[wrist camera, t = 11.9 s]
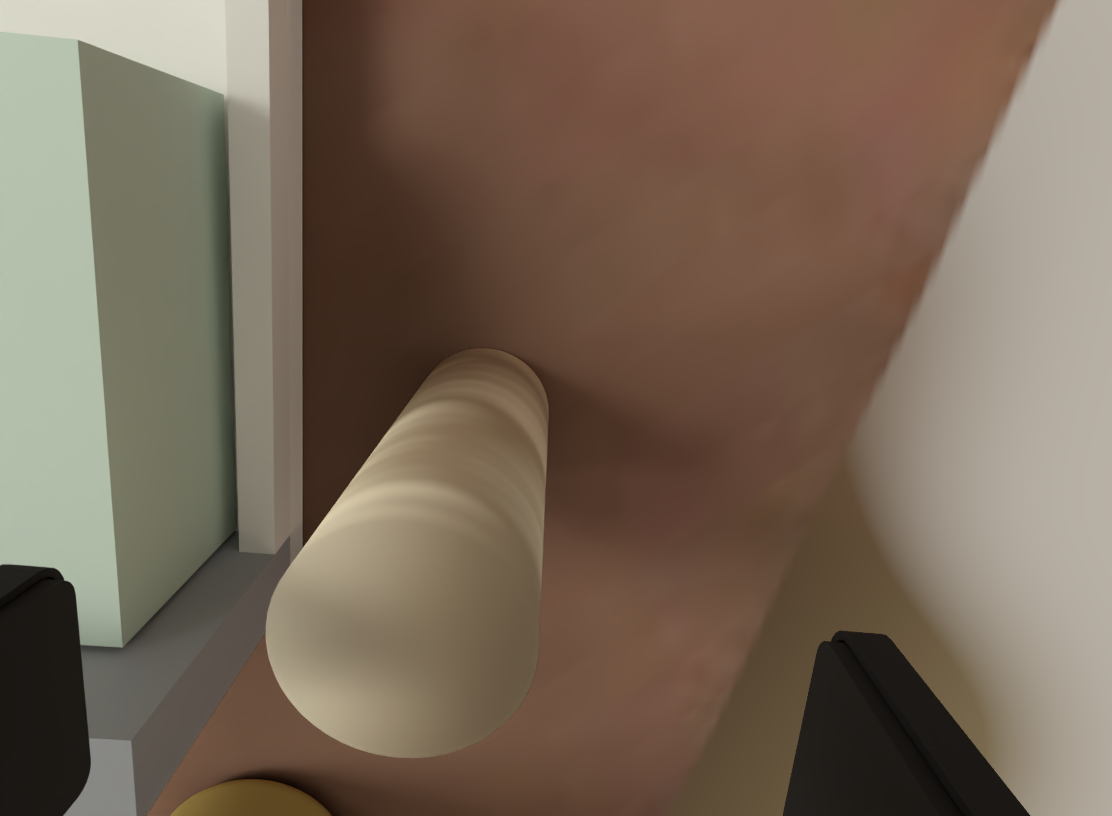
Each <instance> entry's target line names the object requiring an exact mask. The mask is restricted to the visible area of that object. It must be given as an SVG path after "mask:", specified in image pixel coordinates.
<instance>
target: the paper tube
mask: <svg viewBox="0 0 1112 816" xmlns="http://www.w3.org/2000/svg"><path fill="white" fill-rule="evenodd" d="M170 816H332V815H331V814H330V813H329V812H328V811H327V809H326V808H325V807H324V806H322V805H321V804H320V803H319V802H318V801H317V800H315V799H314V798H312V797H311V796H309V795H308V794H306V793H304V792H302V791H300V790H298V789H296V788H294V787H291V786H288V785H285V784H282V783H278V782H275V781H269V780H261V779H241V780H233V781H227V782H224V783H220V784H217V785H214V786H212V787H209V788H207V789H205V790H202V791H200V792H198V793H196V794H194V795H193V796H191V797H190V798H188V799H187V800H185V801H184V802H183V803H182V804H181V805H179V806H178V807H177V809H176V810H175V811H174V812H173V813H172V814H171V815H170Z"/></svg>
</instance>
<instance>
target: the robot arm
mask: <svg viewBox="0 0 1112 816" xmlns="http://www.w3.org/2000/svg"><path fill="white" fill-rule="evenodd" d="M90 768H91V755H90V744H89V733H88V722H87V711H86V701H85V690H84V679H83V668H82V657H81V646H80V635H79V624H78V613H77V602H76V593H75V588H74V586H73V585H72V583H70V582H68V581H64V577H63V576H62V574H61V573H60V571H59V570H57V569H55V568H50V567H38V566H26V565H13V564H2V565H0V816H63V815H64V814H65V813H66V812H67V810H68V809H69V808H70V807H71V806H72V804H73V803H74V802H75V801H76V799H77V798H78V797H79V795H80V794H81V792H82V791H83V789H84V787H85V785H86V783H87V780H88V777H89V773H90ZM783 816H1030V815H1029V813H1028V812H1027V811H1026V810H1025V808H1024V807H1023V806H1022V805H1021V803H1020V802H1019V801H1018V800H1017V798H1016V797H1015V796H1014V795H1013V793H1012V792H1011V791H1010V789H1009V788H1008V787H1007V786H1006V785H1005V783H1004V782H1003V781H1002V780H1001V778H1000V777H999V776H998V774H997V773H996V772H995V771H994V769H993V768H992V767H991V765H990V764H989V763H988V762H987V760H986V759H985V758H984V757H983V756H982V754H981V753H980V752H979V750H978V749H977V748H976V747H975V745H974V744H973V743H972V741H971V740H970V739H969V738H968V736H967V735H966V734H965V733H964V731H963V730H962V729H961V728H960V726H959V725H958V724H957V723H956V721H955V720H954V719H953V717H952V716H951V715H950V714H949V712H948V711H947V710H946V709H945V707H944V706H943V705H942V703H941V702H940V701H939V700H938V699H937V697H936V696H935V695H934V693H933V692H932V691H931V690H930V688H929V687H928V686H927V684H926V683H925V682H924V681H923V679H922V678H921V677H920V676H919V674H918V673H917V672H916V671H915V670H914V668H913V667H912V666H911V664H910V663H909V662H908V660H907V659H906V658H905V657H904V655H903V654H902V653H901V652H900V650H899V649H898V648H897V647H896V645H895V644H894V643H893V641H892V640H891V639H890V638H888V636H886V635H883V634H874V633H862V632H850V631H849V632H848V631H838V632H837V633H835V635H834V636H833V638H832V641H831V642H828V641H824V642H822V643H821V644H820V645H819V647H818V650H817V654H816V659H815V664H814V668H813V673H812V678H811V683H810V688H809V692H808V697H807V702H806V707H805V711H804V717H803V721H802V726H801V731H800V735H799V740H798V745H797V750H796V754H795V759H794V764H793V769H792V773H791V778H790V784H789V788H788V793H787V797H786V802H785V807H784V813H783Z"/></svg>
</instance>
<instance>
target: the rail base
mask: <svg viewBox="0 0 1112 816" xmlns="http://www.w3.org/2000/svg"><path fill="white" fill-rule="evenodd" d="M0 32H8V33H18V34H28V35H38V36H48V37H57V38H67V39H77V40H80V41H83V42H85V43H88V44H91V45H93V46H96V47H99V48H101V49H104V50H107V51H109V52H112V53H115V54H117V55H120V56H123V57H125V58H128V59H131V60H133V61H136V62H138V63H141V64H144V65H146V66H149V67H152V68H154V69H157V70H160V71H162V72H165V73H168V74H170V75H173V76H176V77H178V78H181V79H184V80H186V81H189V82H192V83H194V84H197V85H200V86H202V87H205V88H207V89H210V90H213V91H215V92H218V93H221V94H223V95H224V125H225V163H226V200H227V237H228V274H229V312H230V349H231V386H232V424H233V461H234V498H235V531H234V532H233V533H232V534H231V535H230V536H229V537H228V538H227V539H226V540H225V541H224V542H223V543H222V544H221V545H220V546H219V547H218V548H217V550H216V551H215V552H214V553H213V554H212V555H211V556H210V557H209V558H208V559H207V560H206V561H205V562H204V563H203V564H202V565H201V566H200V567H199V568H198V569H197V570H196V571H195V573H194V574H193V575H192V576H191V577H190V578H189V579H188V580H187V581H186V582H185V583H184V584H183V585H182V586H181V587H180V588H179V589H178V590H177V591H176V592H175V593H174V594H173V595H172V597H171V598H170V599H169V600H168V601H167V602H166V603H165V604H164V605H163V606H162V607H161V608H160V609H159V610H158V611H157V612H156V613H155V614H154V615H153V616H152V617H151V618H150V620H149V621H148V622H147V623H146V624H145V625H144V626H143V627H142V628H141V629H140V630H139V631H138V632H137V633H136V634H135V635H134V636H133V637H132V638H131V639H130V640H129V641H128V643H127V644H126V645H125V646H124V647H123V648H121V647H105V646H90V645H80V646H81V657H82V668H83V679H84V690H85V701H86V711H87V722H88V733H89V744H90V755H91V768H90V773H89V777H88V780H87V783H86V785H85V787H84V789H83V791H82V792H81V794H80V795H79V797H78V798H77V799H76V801H75V802H74V803H73V804H72V806H71V807H70V808H69V809H68V810H67V812H66V813H65V814H64V815H63V816H146V815H147V814H148V812H149V811H150V809H151V808H152V806H153V804H154V803H155V801H156V800H157V798H158V797H159V795H160V794H161V792H162V791H163V789H164V788H165V786H166V784H167V783H168V781H169V780H170V778H171V777H172V775H173V774H174V772H175V771H176V769H177V768H178V766H179V764H180V763H181V761H182V760H183V758H184V757H185V755H186V754H187V752H188V751H189V749H190V748H191V746H192V745H193V743H194V741H195V740H196V738H197V737H198V735H199V734H200V732H201V731H202V729H203V728H204V726H205V725H206V723H207V721H208V720H209V718H210V717H211V715H212V714H213V712H214V711H215V709H216V708H217V706H218V705H219V703H220V701H221V700H222V698H223V697H224V695H225V694H226V692H227V691H228V689H229V688H230V686H231V685H232V683H233V682H234V680H235V678H236V677H237V675H238V674H239V672H240V671H241V669H242V668H243V666H244V665H245V663H246V662H247V660H248V658H249V657H250V655H251V654H252V652H253V651H254V649H255V648H256V646H257V645H258V643H259V642H260V640H261V639H262V637H263V635H264V634H265V632H266V620H267V612H268V608H269V605H270V602H271V598H272V595H273V593H274V591H275V589H276V587H277V585H278V583H279V581H280V580H281V578H282V577H283V575H284V574H285V572H286V571H287V569H288V568H289V566H290V565H291V564H292V562H293V561H294V559H295V558H296V557H297V555H298V554H299V553H300V551H301V550H302V548H303V381H302V0H0Z"/></svg>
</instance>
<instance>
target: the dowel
mask: <svg viewBox="0 0 1112 816" xmlns="http://www.w3.org/2000/svg"><path fill="white" fill-rule="evenodd" d="M548 422H549V406H548V400H547V396H546V393H545V390H544V387H543V385H542V383H541V381H540V380H539V378H538V377H537V375H536V374H535V373H534V372H533V370H532V369H531V368H530V367H529V366H528V365H526V364H525V363H524V362H523V361H521V360H520V359H518V358H517V357H515V356H513V355H511V354H509V353H506V352H504V351H501V350H496V349H491V348H473V349H467V350H463V351H460V352H457V353H455V354H453V355H451V356H449V357H447V358H446V359H444V360H443V361H441V362H440V363H439V364H438V365H437V366H436V367H435V368H434V369H433V370H432V371H431V372H430V374H429V375H428V377H427V378H426V379H425V381H424V382H423V383H422V385H421V386H420V388H419V389H418V390H417V392H416V393H415V394H414V396H413V397H412V399H411V400H410V401H409V403H408V404H407V405H406V407H405V408H404V410H403V411H402V412H401V414H400V415H399V416H398V418H397V419H396V421H395V422H394V423H393V425H392V426H391V427H390V429H389V430H388V432H387V433H386V434H385V436H384V437H383V438H382V440H381V441H380V443H379V444H378V445H377V447H376V448H375V449H374V451H373V452H372V454H371V455H370V456H369V458H368V459H367V460H366V462H365V463H364V465H363V466H362V467H361V469H360V470H359V471H358V473H357V474H356V476H355V477H354V478H353V480H352V481H351V482H350V484H349V485H348V487H347V488H346V489H345V491H344V492H343V493H342V495H341V496H340V498H339V499H338V500H337V502H336V503H335V504H334V506H333V507H332V509H331V510H330V511H329V513H328V514H327V515H326V517H325V518H324V520H323V521H322V522H321V524H320V525H319V526H318V528H317V529H316V531H315V532H314V533H313V535H312V536H311V537H310V539H309V540H308V542H307V543H306V544H305V546H304V547H303V548H302V550H301V551H300V553H299V554H298V555H297V557H296V558H295V559H294V561H293V562H292V564H291V565H290V566H289V568H288V569H287V571H286V572H285V574H284V575H283V577H282V578H281V580H280V581H279V583H278V585H277V587H276V589H275V591H274V593H273V595H272V598H271V602H270V605H269V608H268V612H267V620H266V646H267V652H268V657H269V661H270V664H271V667H272V670H273V673H274V675H275V677H276V679H277V681H278V683H279V685H280V687H281V689H282V690H283V692H284V693H285V695H286V696H287V698H288V699H289V701H290V702H291V703H292V704H293V705H294V706H295V708H296V709H297V710H298V711H299V712H300V713H301V714H302V715H303V716H304V717H305V718H306V719H307V720H308V721H310V722H311V723H312V724H313V725H314V726H316V727H317V728H319V729H320V730H321V731H323V732H324V733H326V734H327V735H329V736H331V737H333V738H334V739H336V740H338V741H340V742H342V743H344V744H346V745H349V746H351V747H354V748H356V749H359V750H362V751H366V752H369V753H372V754H377V755H383V756H388V757H398V758H425V757H432V756H439V755H443V754H447V753H451V752H455V751H458V750H461V749H463V748H466V747H468V746H471V745H473V744H475V743H477V742H479V741H481V740H482V739H484V738H486V737H487V736H489V735H490V734H492V733H493V732H495V731H496V730H497V729H499V728H500V727H501V726H502V725H503V724H504V723H505V722H506V721H507V720H508V719H510V717H511V716H512V715H513V714H514V713H515V711H516V710H517V709H518V708H519V706H520V705H521V703H522V702H523V700H524V698H525V697H526V695H527V693H528V691H529V689H530V686H531V684H532V682H533V679H534V675H535V671H536V668H537V662H538V652H539V632H540V609H541V585H542V562H543V539H544V515H545V492H546V469H547V445H548Z"/></svg>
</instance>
